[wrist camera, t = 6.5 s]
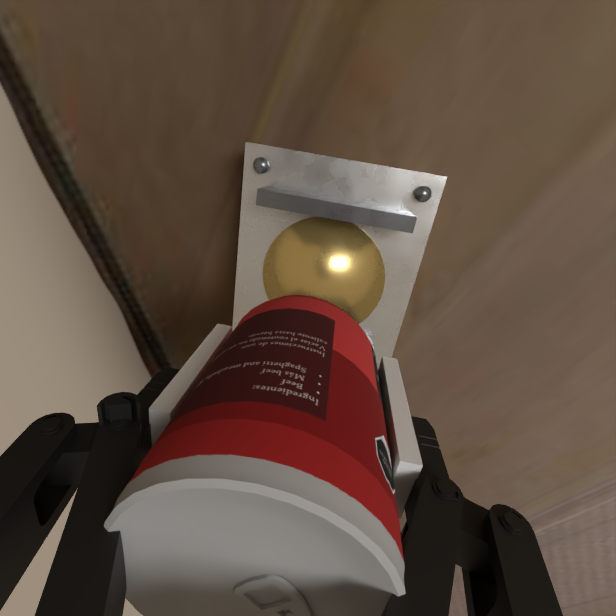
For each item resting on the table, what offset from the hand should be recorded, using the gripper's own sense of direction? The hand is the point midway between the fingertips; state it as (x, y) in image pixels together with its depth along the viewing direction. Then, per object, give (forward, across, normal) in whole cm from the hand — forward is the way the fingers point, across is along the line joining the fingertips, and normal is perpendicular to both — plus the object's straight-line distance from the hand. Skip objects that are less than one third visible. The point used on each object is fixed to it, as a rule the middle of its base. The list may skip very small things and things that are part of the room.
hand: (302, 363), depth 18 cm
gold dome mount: (+19, 0, 0) cm, 19 cm away
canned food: (+1, 0, 0) cm, 1 cm away
